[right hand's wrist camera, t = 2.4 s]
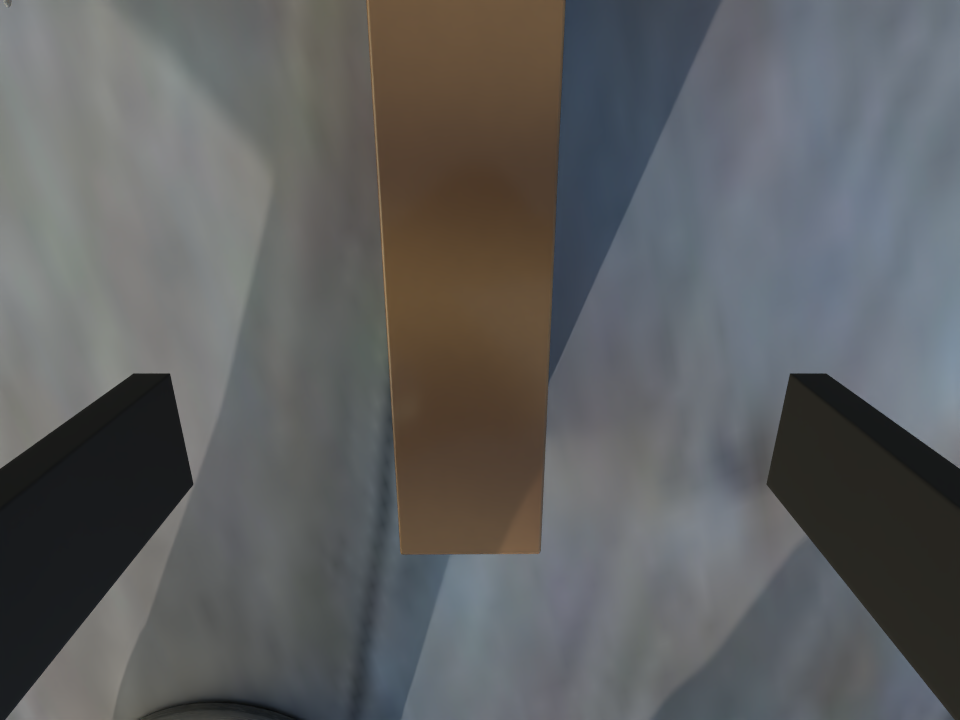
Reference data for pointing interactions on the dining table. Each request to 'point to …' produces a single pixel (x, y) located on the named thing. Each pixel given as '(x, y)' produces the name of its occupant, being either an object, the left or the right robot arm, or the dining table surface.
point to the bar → (468, 260)
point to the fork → (7, 3)
